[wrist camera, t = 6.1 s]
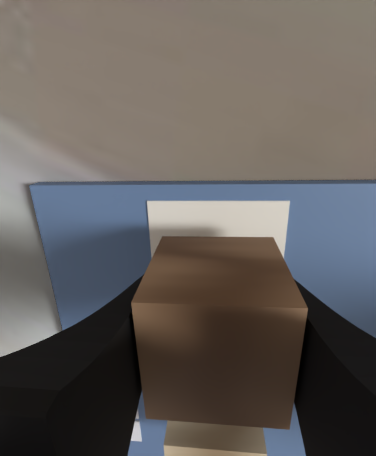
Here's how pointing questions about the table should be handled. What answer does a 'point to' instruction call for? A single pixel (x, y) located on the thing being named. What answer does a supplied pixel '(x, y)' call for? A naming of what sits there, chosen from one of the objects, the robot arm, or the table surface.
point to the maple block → (213, 440)
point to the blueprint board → (208, 227)
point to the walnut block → (219, 332)
